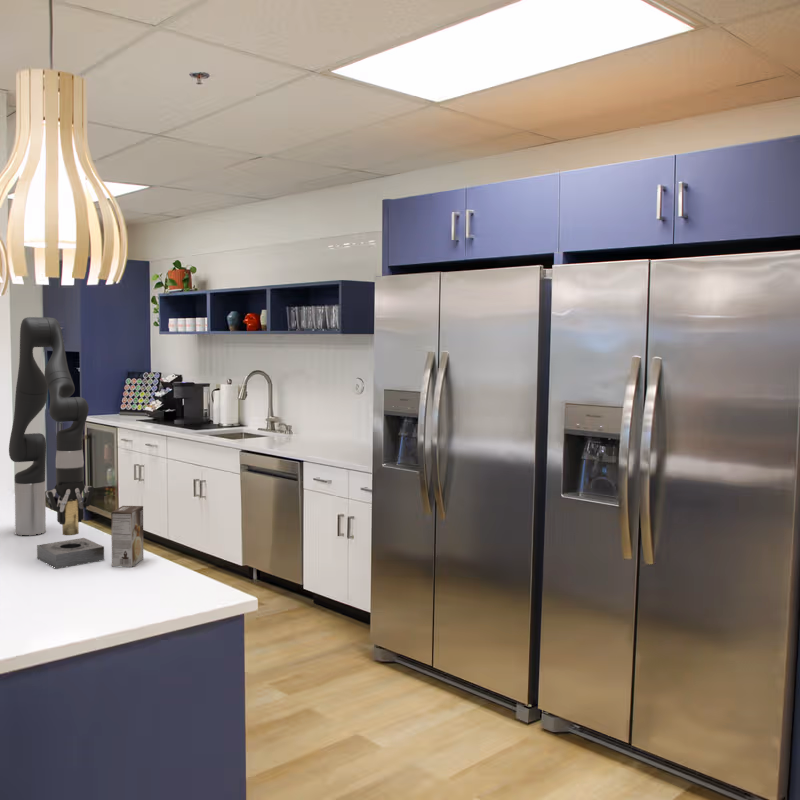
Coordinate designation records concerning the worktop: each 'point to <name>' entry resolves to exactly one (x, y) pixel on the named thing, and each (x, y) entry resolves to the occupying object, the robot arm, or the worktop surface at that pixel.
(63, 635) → the worktop surface
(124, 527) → the coffee box
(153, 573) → the worktop surface
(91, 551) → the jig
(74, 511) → the bushing
